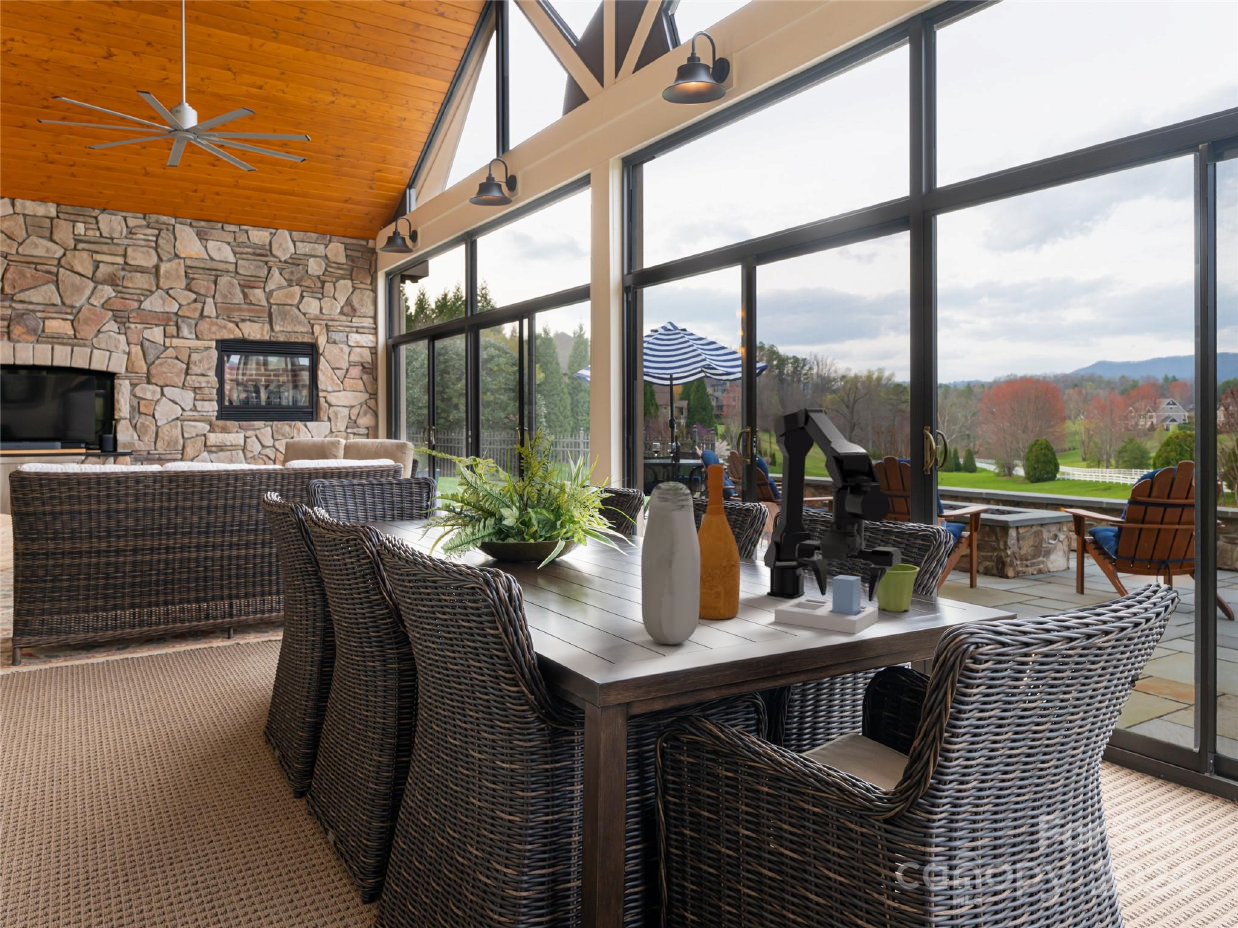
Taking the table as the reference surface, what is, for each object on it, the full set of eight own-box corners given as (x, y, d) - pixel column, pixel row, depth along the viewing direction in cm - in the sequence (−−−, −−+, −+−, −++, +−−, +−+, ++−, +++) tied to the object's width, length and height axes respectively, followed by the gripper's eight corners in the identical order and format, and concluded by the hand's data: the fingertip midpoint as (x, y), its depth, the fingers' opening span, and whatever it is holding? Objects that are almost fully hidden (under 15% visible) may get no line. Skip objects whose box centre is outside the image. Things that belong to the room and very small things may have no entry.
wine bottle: (743, 611, 174) (745, 463, 172) (734, 622, 164) (735, 465, 163) (696, 608, 177) (697, 462, 175) (684, 618, 168) (685, 464, 166)
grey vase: (704, 649, 145) (705, 483, 144) (643, 650, 144) (644, 483, 143) (694, 634, 155) (695, 479, 154) (638, 635, 154) (638, 479, 153)
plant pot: (921, 614, 172) (922, 571, 171) (872, 612, 173) (873, 570, 173) (914, 605, 181) (915, 564, 180) (868, 603, 183) (869, 562, 182)
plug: (832, 625, 163) (832, 577, 162) (841, 620, 167) (842, 574, 166) (852, 627, 161) (853, 580, 160) (861, 623, 164) (862, 576, 164)
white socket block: (774, 621, 165) (774, 607, 165) (799, 610, 175) (800, 597, 175) (855, 633, 156) (855, 618, 156) (877, 621, 166) (878, 607, 166)
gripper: (784, 516, 161) (783, 599, 162) (883, 524, 150) (881, 612, 151) (807, 511, 170) (806, 589, 171) (903, 518, 159) (901, 601, 160)
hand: (846, 598), depth 163 cm, fingers open, 9 cm apart
